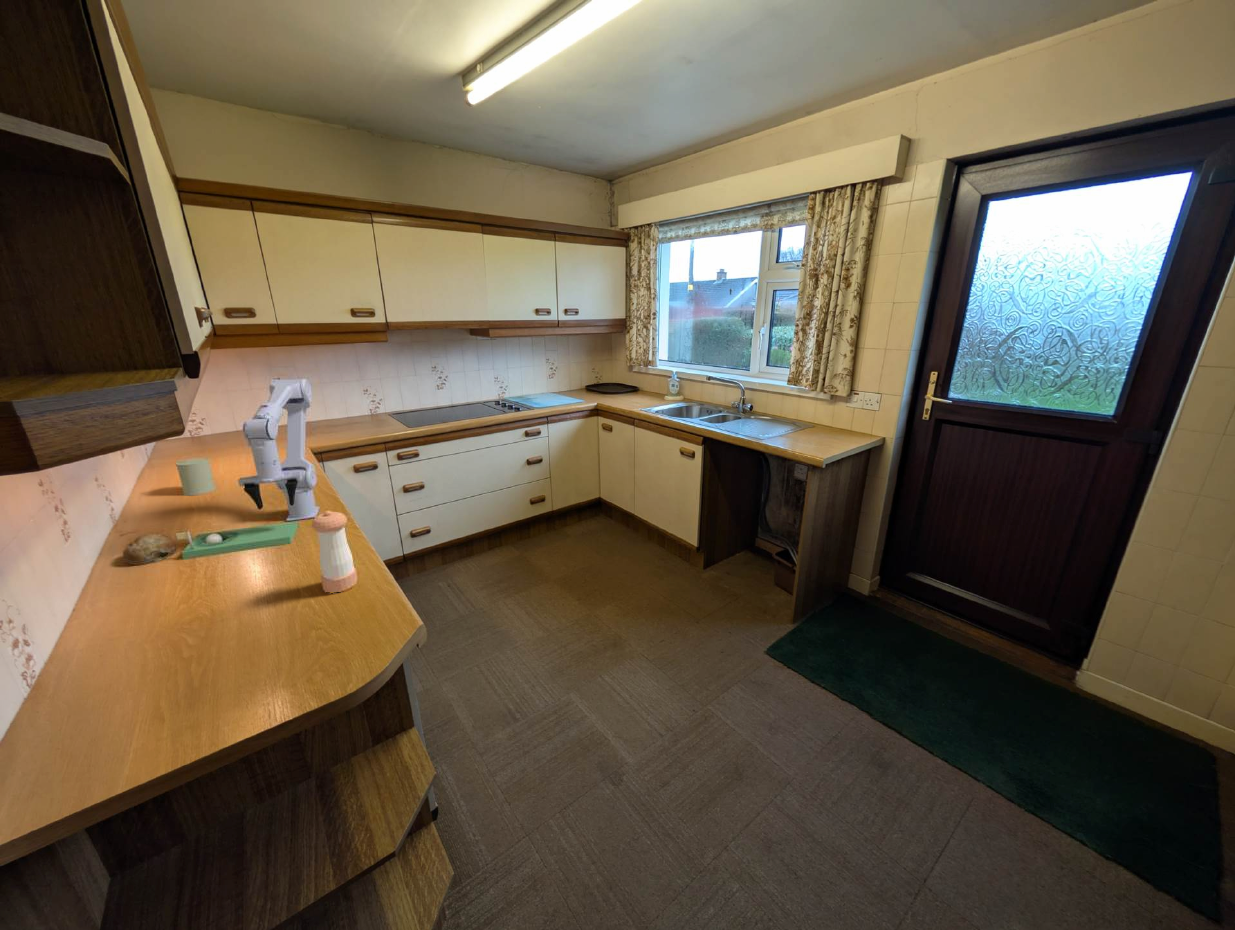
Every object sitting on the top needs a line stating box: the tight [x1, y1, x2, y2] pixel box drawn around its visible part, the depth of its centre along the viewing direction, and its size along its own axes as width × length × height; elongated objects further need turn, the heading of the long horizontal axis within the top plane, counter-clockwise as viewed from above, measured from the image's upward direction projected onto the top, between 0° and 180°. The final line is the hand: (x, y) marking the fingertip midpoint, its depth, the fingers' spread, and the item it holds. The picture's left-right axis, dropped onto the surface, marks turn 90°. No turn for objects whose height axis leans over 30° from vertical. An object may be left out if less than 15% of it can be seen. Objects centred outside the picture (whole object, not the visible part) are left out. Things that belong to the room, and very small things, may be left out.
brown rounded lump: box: [122, 533, 177, 566], centre depth 126 cm, size 10×10×8 cm
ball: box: [206, 534, 222, 544], centre depth 133 cm, size 4×4×4 cm
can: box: [175, 457, 217, 496], centre depth 173 cm, size 9×9×12 cm
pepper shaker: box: [311, 510, 358, 593], centre depth 112 cm, size 7×7×19 cm
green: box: [175, 520, 299, 560], centre depth 135 cm, size 12×24×7 cm, turn 114°
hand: (276, 506), depth 137 cm, fingers open, 7 cm apart
